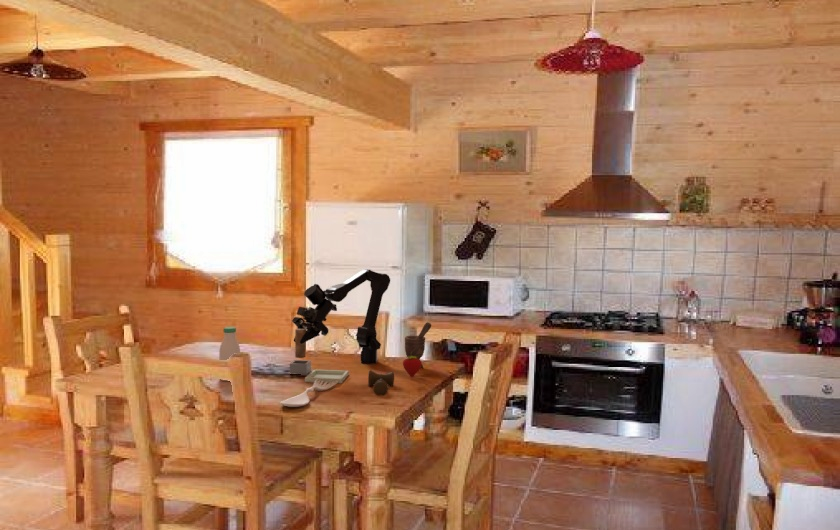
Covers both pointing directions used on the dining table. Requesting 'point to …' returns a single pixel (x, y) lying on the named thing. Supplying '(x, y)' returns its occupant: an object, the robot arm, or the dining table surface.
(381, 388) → the kendama
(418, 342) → the mortar and pestle
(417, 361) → the strawberry
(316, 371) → the sage tray
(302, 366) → the stoneware holder
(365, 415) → the dining table surface
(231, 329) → the milk bottle
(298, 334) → the walnut dowel
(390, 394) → the dining table surface
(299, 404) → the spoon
